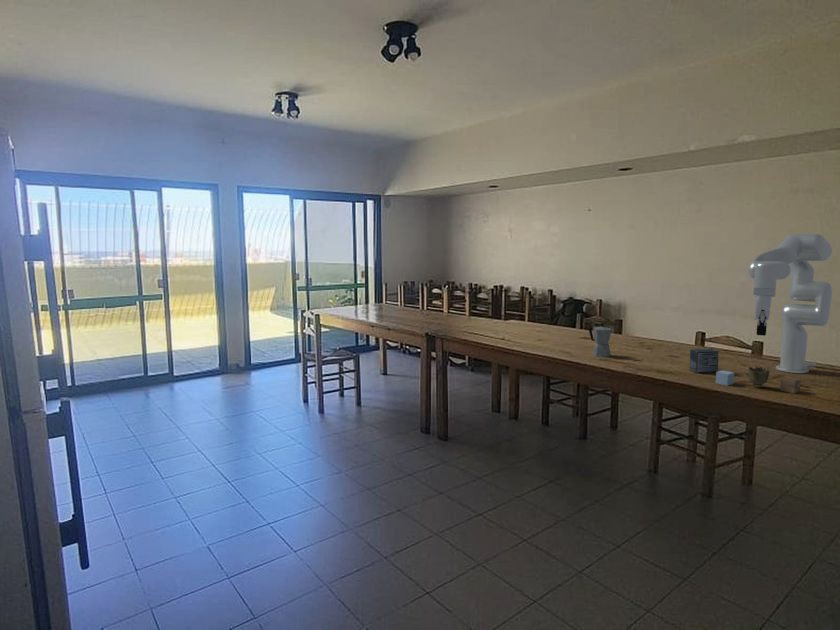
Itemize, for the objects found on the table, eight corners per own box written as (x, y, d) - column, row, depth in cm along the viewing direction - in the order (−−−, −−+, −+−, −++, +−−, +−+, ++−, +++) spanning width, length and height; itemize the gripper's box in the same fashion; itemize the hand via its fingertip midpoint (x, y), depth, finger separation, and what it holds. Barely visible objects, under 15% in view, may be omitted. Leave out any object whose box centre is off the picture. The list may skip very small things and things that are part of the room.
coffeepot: (617, 356, 277) (618, 323, 275) (606, 358, 272) (607, 325, 270) (593, 351, 290) (594, 320, 287) (582, 353, 285) (583, 322, 282)
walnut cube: (786, 388, 212) (787, 377, 211) (799, 391, 208) (800, 379, 207) (779, 390, 209) (780, 378, 209) (793, 393, 205) (794, 381, 204)
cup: (763, 384, 218) (764, 366, 216) (771, 389, 210) (773, 371, 209) (744, 384, 219) (745, 366, 218) (752, 389, 212) (753, 370, 211)
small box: (710, 369, 245) (711, 348, 244) (718, 372, 239) (719, 351, 237) (688, 370, 245) (689, 348, 243) (696, 373, 238) (697, 351, 237)
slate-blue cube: (722, 381, 225) (722, 370, 224) (733, 383, 220) (734, 372, 220) (715, 383, 222) (716, 371, 222) (727, 385, 218) (727, 374, 217)
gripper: (754, 290, 218) (751, 329, 221) (752, 294, 204) (749, 335, 206) (775, 291, 214) (772, 331, 216) (775, 294, 200) (772, 337, 202)
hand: (761, 333), depth 211 cm, fingers open, 9 cm apart
